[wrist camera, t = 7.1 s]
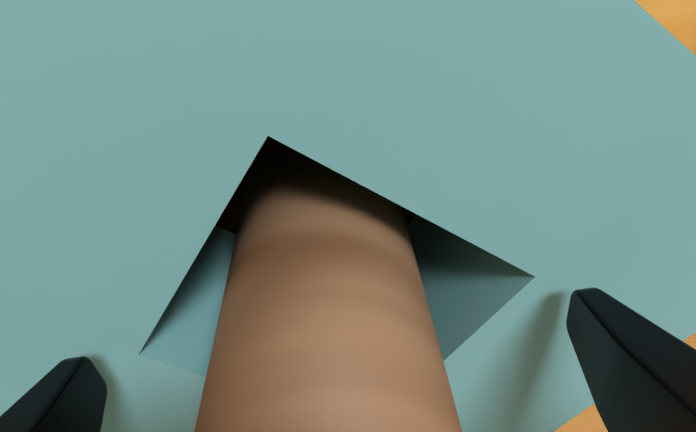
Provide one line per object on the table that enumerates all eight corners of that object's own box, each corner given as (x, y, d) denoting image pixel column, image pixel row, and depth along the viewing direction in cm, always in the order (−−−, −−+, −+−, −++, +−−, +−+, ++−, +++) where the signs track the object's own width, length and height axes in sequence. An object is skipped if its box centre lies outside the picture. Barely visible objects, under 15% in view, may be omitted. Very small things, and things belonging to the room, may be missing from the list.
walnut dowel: (343, 261, 15) (380, 711, 7) (224, 207, 14) (95, 690, 6) (421, 164, 13) (594, 618, 5) (293, 91, 12) (251, 553, 4)
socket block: (385, 394, 19) (405, 535, 15) (-2, 256, 14) (-129, 408, 10) (690, 105, 13) (868, 210, 9) (179, -319, 8) (36, -534, 4)
